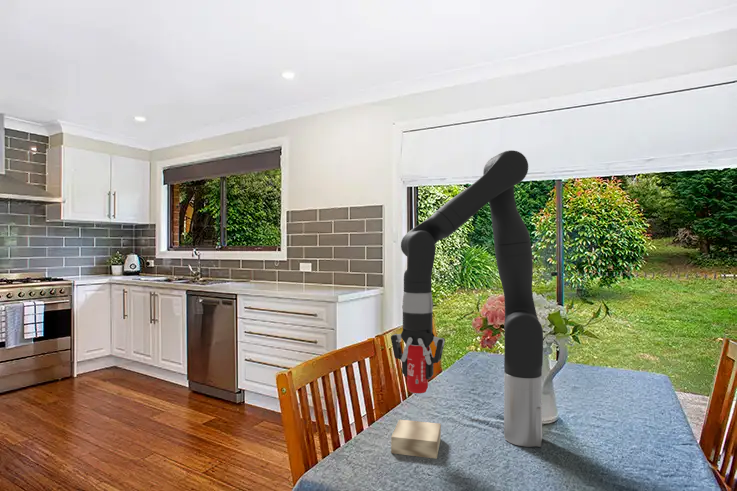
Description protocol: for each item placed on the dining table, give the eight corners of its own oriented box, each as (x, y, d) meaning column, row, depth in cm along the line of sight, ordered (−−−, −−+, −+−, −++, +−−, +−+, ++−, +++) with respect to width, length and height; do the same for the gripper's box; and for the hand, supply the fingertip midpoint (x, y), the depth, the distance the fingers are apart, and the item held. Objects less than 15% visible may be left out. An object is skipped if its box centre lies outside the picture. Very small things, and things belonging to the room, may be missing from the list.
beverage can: (427, 394, 108) (427, 345, 108) (406, 393, 109) (406, 344, 109) (428, 388, 113) (428, 341, 113) (408, 386, 114) (408, 340, 114)
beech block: (440, 439, 115) (440, 423, 115) (436, 458, 104) (436, 441, 104) (399, 434, 117) (399, 419, 117) (391, 453, 107) (391, 436, 107)
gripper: (449, 309, 111) (449, 376, 111) (396, 306, 117) (395, 370, 117) (441, 313, 105) (441, 385, 105) (385, 310, 110) (385, 377, 110)
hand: (417, 376), depth 111 cm, fingers closed on beverage can, 5 cm apart
